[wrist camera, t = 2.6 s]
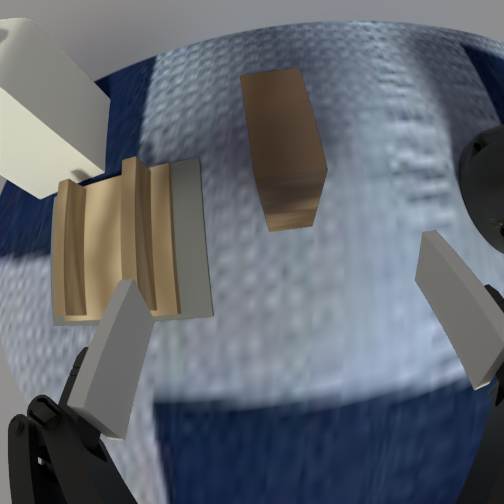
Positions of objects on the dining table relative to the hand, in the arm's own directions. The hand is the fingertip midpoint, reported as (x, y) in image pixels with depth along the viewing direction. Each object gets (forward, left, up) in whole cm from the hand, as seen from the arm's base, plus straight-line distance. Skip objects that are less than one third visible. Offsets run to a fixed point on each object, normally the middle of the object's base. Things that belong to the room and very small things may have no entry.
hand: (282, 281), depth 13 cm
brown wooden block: (-1, -10, -14) cm, 17 cm away
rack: (+17, -7, -14) cm, 23 cm away
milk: (+25, -22, -14) cm, 36 cm away
